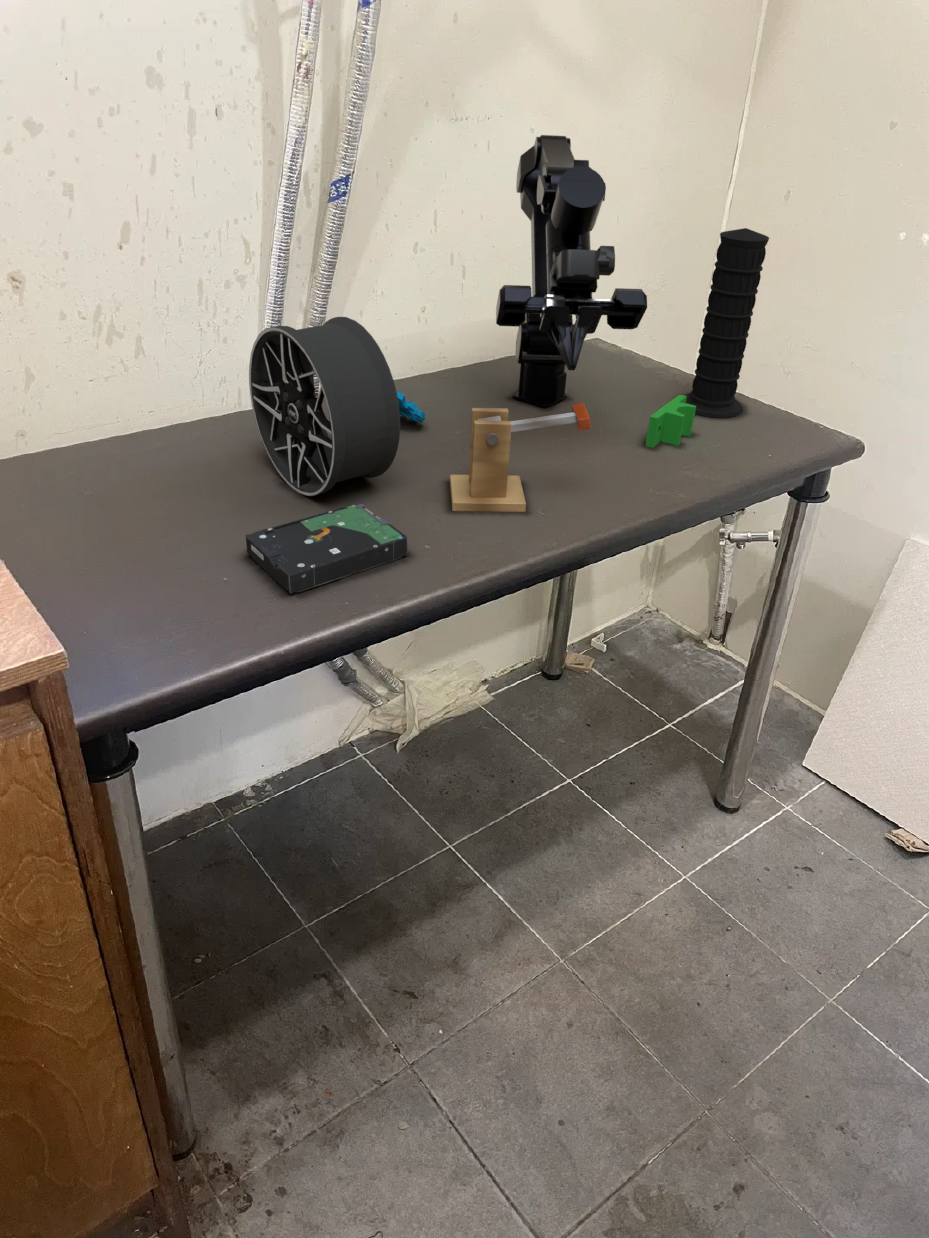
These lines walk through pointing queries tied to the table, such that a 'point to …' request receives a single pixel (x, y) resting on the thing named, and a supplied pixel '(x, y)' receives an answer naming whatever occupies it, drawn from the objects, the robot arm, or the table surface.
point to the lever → (551, 420)
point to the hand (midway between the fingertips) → (572, 369)
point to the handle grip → (727, 323)
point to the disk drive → (326, 547)
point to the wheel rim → (351, 393)
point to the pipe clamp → (671, 422)
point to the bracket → (488, 468)
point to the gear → (409, 409)
